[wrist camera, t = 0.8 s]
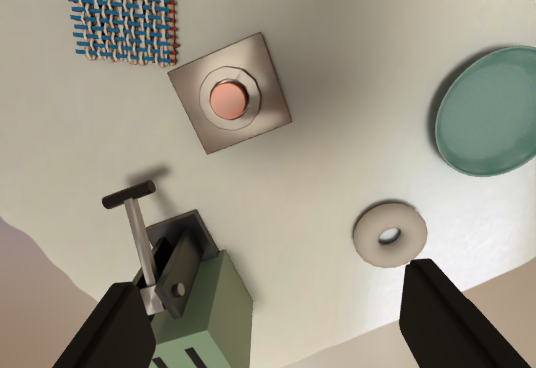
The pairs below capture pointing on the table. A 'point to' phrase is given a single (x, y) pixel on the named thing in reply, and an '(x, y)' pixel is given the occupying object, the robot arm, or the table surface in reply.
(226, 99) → the button
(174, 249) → the bracket
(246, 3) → the table surface
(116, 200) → the lever
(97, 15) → the woven mat
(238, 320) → the toaster
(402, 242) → the donut
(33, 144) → the table surface
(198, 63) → the control block
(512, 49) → the saucer
